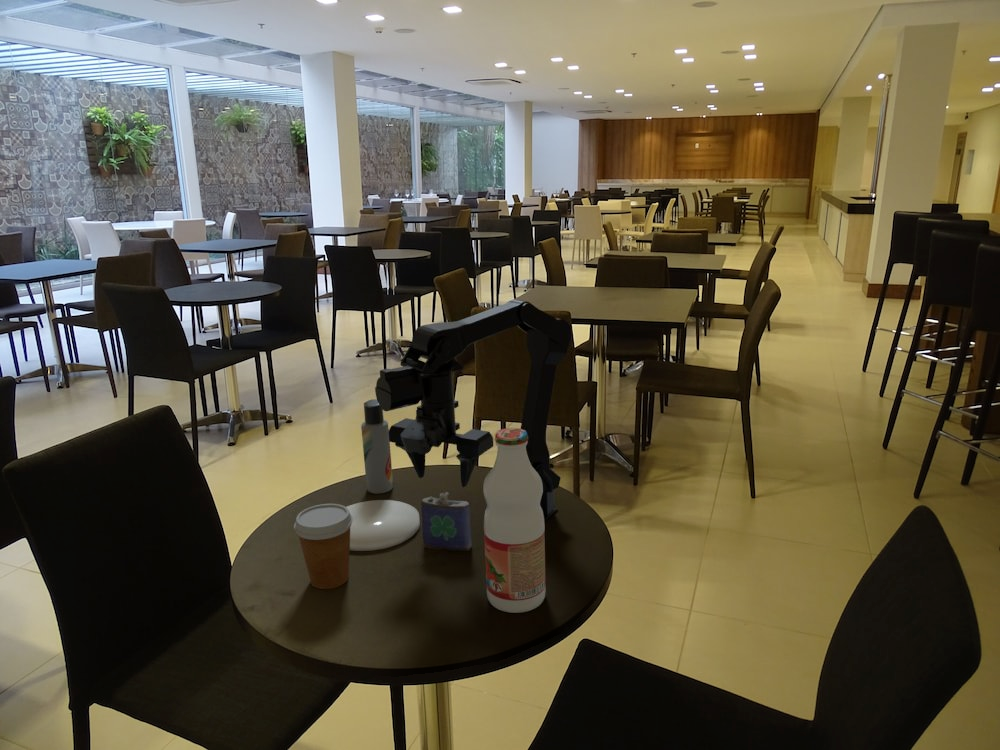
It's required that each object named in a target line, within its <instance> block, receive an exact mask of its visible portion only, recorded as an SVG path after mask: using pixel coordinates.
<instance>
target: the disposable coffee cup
mask: <svg viewBox="0 0 1000 750" xmlns="http://www.w3.org/2000/svg"><path fill="white" fill-rule="evenodd" d="M352 521H353V517H352V515H351V514H350V512H349V510H348V508H347V506H345V505H342V504H338V503H323V504H317V505H312V506H310V507H308V508H305V509H303V510H302V511H300V512H299V513H298V514H297V515H296V517H295V522H294V524H293V529H294V531H295V532H296V534H297V536H298V539H299V543H300V546H301V550H302V554H303V558H304V561H305V565H306V568H307V573H308V576H309V580H310V584H311V585H312V587H313V588H316V589H320V590H331V589H332V590H333V589H335V588H338V587H340V586H342V585H344V584H345V583H346V582H347V581H348V580H349V577H350V574H349V573H350V572H349V571H350V554H351V553H350V551H351V550H350V527H351V524H352Z"/></svg>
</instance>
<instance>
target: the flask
mask: <svg viewBox="0 0 1000 750" xmlns="http://www.w3.org/2000/svg"><path fill="white" fill-rule="evenodd" d="M448 496H450V492H447V491H444V492H441V493H440V494H439V498H437V497H433V495H432V496H428V497H424V498H422V500H421V504H420V505H421V523H422V540H423V541H422V542H423V546H424V547H425V548H428V549H433V550H439V551H440V550H441V551H454V552H464V551H465V552H467V551H470V550H471V548H472V535H471V515H470V514H471V513H470V512H471V511H470V510H471V506H470V503H469V502H468V501H466V500H449V497H448Z"/></svg>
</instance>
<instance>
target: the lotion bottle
mask: <svg viewBox="0 0 1000 750" xmlns="http://www.w3.org/2000/svg"><path fill="white" fill-rule="evenodd" d="M363 410H364V412H363V413H364V422H362V423H361V425H360V428H361V438H362V439H361V440H362V449H363V459H364V460H363V461H364V462H363V463H364V471H365V482H366V490H367V491H368V492H369V493H370V494H371V493H372V494H375V495H377V494H379V495H380V494H385V493H388V492H390V491H391V490H392V489H393V488H394V481H393V479H394V478H393V467H392V456H391V455H392V454H391V442H389V435H388V431H389V429H390V427H389V422H388V420H386V419H384V410H383V409H382V408H381V407H380V405H379V403H378V401H377V398H376V399H369V400H367V401H364V402H363Z"/></svg>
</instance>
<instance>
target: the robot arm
mask: <svg viewBox="0 0 1000 750" xmlns="http://www.w3.org/2000/svg"><path fill="white" fill-rule="evenodd" d="M570 325H571V324H569V322H568V321H567V320H566V319H563V318H558V317H554V316H553V315H551V314H548V313H547V312H545V311H543V310H541V309H539V308H538V307H536V306H535V305H534V304H532V303H531V302H529V301H526V300H522V299H521V300H520V299H516V298H513V299H511V300H508V301H507V302H506V303H504V304H500V305H497V306H495V307H493V308H489V309H487V310H484V311H482V312H479V313H476V314H474V315H470V316H468V317H465V318H463V319H459V320H456V321H445V322H444V321H442V322H436V323H435V322H434V323H429V324H423V325H420V326H418V327H417V328H416V329H415V330H414V333H413V335H412V338H411V342H410V344H409V346H408V348H407V350H406V352H405V354H404V356H403V358H402V360H401V362H400V367H394V368H384V369H380V370H379V377H378V378H377V380H376V385H375V387H374V392H375V398H376V400H377V401H378V403H379V405H380V407H381V408H382V409H383V412H391V411H393V410H397V409H398V410H399V409H403V408H408V407H410V406H415V405H418V404H419V403H420V405H419V406H417V407H416V410H415V418H414V419H412V418H407V417H405V418H403V419H401V420H399V421H398V422H396V423H394V424H392V425H390V427H389V431H388V435H389V442H390V443H394V445H395V446H396V448H400V449H402V450H404V452H405V453H406V454H407V456H408V457H409V459H410V461H411V464H412V466H413V468H414V471H415V473H416V475H417V477H418V478H419V479H422V478H424V477H425V472H426V471H425V470H426V454H429V453H430V452H431V450H432V448H433V447H434V448H439V447H440V446H441V445H442V443H443V444H451V445H456V451H457V452H458V454H457V455H455V457H456V459H457V460H458V461H459V467H460V482H461V486H462V488H465V487H467V486H468V484H469V481H470V478H471V476H472V473H473V471H474V468H475V466H476V463H477V461H478V459H479V458H480V456H481V455H483V454H485V453H486V452H487V451H489V450H490V449H492V448H493V447H494V436H493V435H492V433H491V432H490V431H487V430H482V429H481V430H480V429H477V428H476V429H474V428H471V429H470V430H468V431H467V432H465V433H464V434H463V433H462V434H461V433H457V431H458V430H460V429H461V426H460V425H461V424H460V422H456V409H457V408H459V401H458V400H455V396H454V395H455V393H454V392H455V391H454V378H453V375H454V374H453V373H455V372H460V371H462V370H463V371H464V369H465V368H464V367H465V366H464V365H462V364H460V363H459V362H458V361H457V360H456V359H455V358H457V357H458V356H460V355H462V354H463V353H464V351H465V350H466V349H467V347H469V346H470V345H472V344H474V343H476V342H479V341H483V339H486V338H489V337H492V336H494V335H497V334H499V333H503V332H504V331H507V330H509V329H512V328H514V327H518V329H520V330H522V331H523V332H525V333H526V348H527V351H528V353H529V358H530V360H531V361H530V363H531V364H530V369H529V374H528V382H527V388H526V393H525V400H524V406H523V411H522V418H521V424H520V429H523V430H525V431H526V432H527V434H528V443H527V445H526V452H527V455H528V458H529V461H530V463H531V465H532V467H533V468H534V469H535V470H536V472H537V473H538V474H539V476H540V478H541V480H542V485H543V493H542V497H541V501H540V506H541V508H542V511H543V515H544V522H546V521H547V520H548V519H549V518H550V517H551V516H552V515H553V514H554V513H555V512H556V511H557V510H558V506H557V505H555V504H554V503H555V501H554V499H555V497H554V496H555V495H554V490H555V489H558V488H559V487H560V483H561V479H562V478H561V476H560V475H558V474H557V473H556V472H555V471H554V470H552V469H551V468H550V460H551V458H550V457H551V454H550V450H549V447H548V443H547V441H546V436H547V435H546V433H547V429H548V423H549V416H550V412H551V411H550V410H551V403H552V399H553V398H552V397H553V392H554V386H555V380H556V375H557V369H558V365H559V363H561V361H562V360H563V358H564V357H565V356H567V353H568V351H569V347H570V343H571V341H572V337H573V329H572V326H570ZM421 358H422V359H424V360H426V361H423V360H420V359H421Z"/></svg>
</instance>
